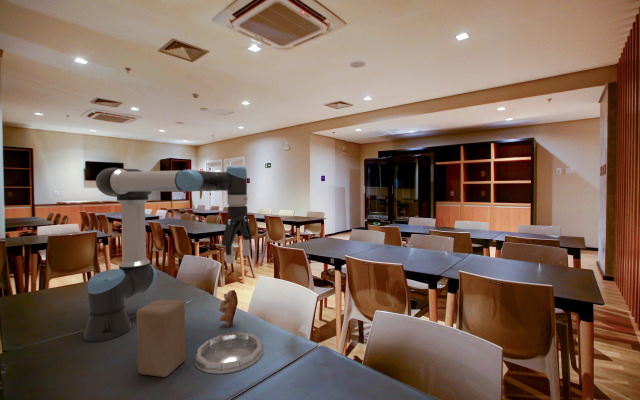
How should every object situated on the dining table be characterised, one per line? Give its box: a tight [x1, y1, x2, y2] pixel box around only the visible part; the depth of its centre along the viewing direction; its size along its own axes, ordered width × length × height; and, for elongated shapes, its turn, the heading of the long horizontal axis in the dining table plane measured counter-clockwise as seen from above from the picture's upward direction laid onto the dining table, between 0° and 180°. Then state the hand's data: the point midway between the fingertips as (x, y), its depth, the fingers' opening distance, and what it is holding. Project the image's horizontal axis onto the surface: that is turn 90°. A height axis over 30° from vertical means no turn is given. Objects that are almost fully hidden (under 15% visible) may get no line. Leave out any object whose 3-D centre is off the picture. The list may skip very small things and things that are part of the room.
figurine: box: [218, 289, 239, 327], centre depth 123 cm, size 6×8×15 cm
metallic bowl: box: [194, 332, 264, 375], centre depth 102 cm, size 22×22×2 cm
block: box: [136, 298, 187, 378], centre depth 95 cm, size 10×10×20 cm
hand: (238, 259), depth 120 cm, fingers open, 13 cm apart
